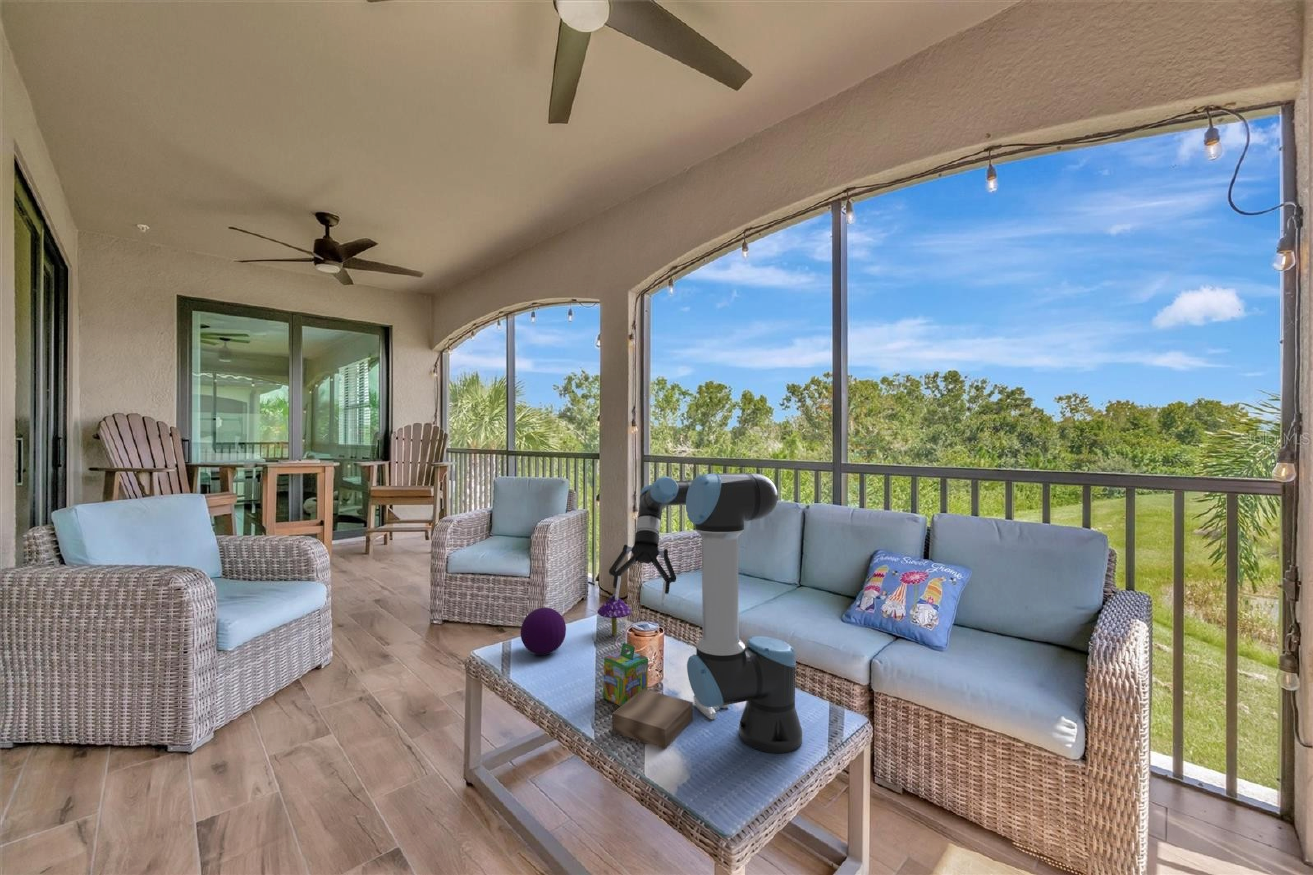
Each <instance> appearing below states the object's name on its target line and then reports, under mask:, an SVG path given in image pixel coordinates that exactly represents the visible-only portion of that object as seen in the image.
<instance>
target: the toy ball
mask: <svg viewBox="0 0 1313 875" xmlns="http://www.w3.org/2000/svg"><path fill="white" fill-rule="evenodd" d="M566 633H567V625H566V621H565V619H564V617H563V616H562V615H561V613H560V612H558V611H557V610H555V609H554V608H550V607H538V608H536V609H534V610H532V611H530V613H529V614H527V615H526V616H525V617H524V620H523V621H522V624H521V628H520V639H521V642H522V644H523V645H524V647H525V649H526V650H528V651H529V652H531V653H532V654H534V655H540V656H546V655H549V654H551V653H553V652H555V651H557V650H558V649H559V648H560V647H561V646H562V644H563V643H564V640H565V638H566Z"/></svg>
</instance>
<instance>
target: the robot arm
mask: <svg viewBox="0 0 1313 875" xmlns="http://www.w3.org/2000/svg"><path fill="white" fill-rule="evenodd" d="M778 494H779V493H778V490H777V487H776V485H775V484H774V482H773V481H772V480H771V479H770V478H769V477H767V476H766V475H763V474H761V473H756V472H755V473H754V472H736V473H735V472H732V473H730V472H729V473H727V472H724V473H723V472H721V473H719V472H717V473H716V472H713V473H704V474H699V475H697V476H695V478H693V480H675V479H674V478H672V477H669V476H660V477H659V478H658V479H657V480H655V481H654V482H653V483H652V484H649V485H645V486H643V487H642V488H641V491H640V495H639V504H638V505H639V506H638V513H637V520H636V527H635V531H636V532H635V535H634V542H633V546H632V547H631V546H628V545H627V544H624V545H623V548H622V551H621V553H620V554H619V555H618V556H617V558H616V559H615V561H614V563H613V564H612V565H611V567H610V568H609V570H608V573H609V575H610V576H612V577H613V583H612V586H613V589H615V594H614V595H615V600H618V597H620V596H619V595H620V587H621V581H622V578H621V577H622V575H623V574H624V573H625V572H626V571H627V570H628V569H629V568H631V566H633V565H634V564H636V562H638V563H640V564H642V563H643V564H644V563H645V564H648V565H650V564H652V565H653V566H654V567H655V569H656V570H657V571H658V573H659V575H660V576H661V577H662V579H663V582H662V583H663V584H662V592H661V593H662V595H661V604H660V606H665V596H666V595H669V594H670V587H671V585H670V584H671V583H675V582H676V581H677V576H676V574H675V573H676V572H675V571H674V568H673V566H672V563H671V561H670V557H669V551H668V549H667V548H665V549H661V550H660V549H659V543H660V533H661V525H662V524H661V523H662V514H663V510H665V509H666V507H667V506H669V507H670V506H685V512H686V516H687V519H688V521H689V522H690V523H692V524H694V525H695V527H694V529H695V532H697V533H698V534H699V535H700V537H701V576H702V577H701V591H702V592H701V594H702V596H701V597H702V598H701V600H702V602H701V603H702V606H701V607H702V609H701V610H702V612H701V613H702V614H701V615H702V636H701V638H700V639H699V640H698V641H697V642H696V648H695V649H696V652H695V654H692V655H690V656H689V657H688V659H687V664H686V671H687V679H688V682H689V685H690V687H691V690H692V693H693V696H694V695H695V697H696V699H697V700H698V701H699V702H700V704H702V705H703V706H705V707H717V706H719V708H720V707H723V706H724V705H729V706H730V705H733V704H739V703H743V702H746V704H745V706H744V708H743V711H742V715H741V717H740V720H739V725H738V726H739V730H738V732H739V736H740V739H741V740H742V741H743V742H744V743H745V744H746V745H748V746H749V747H751V748H752V749H755V750H757V751H761V752H764V753H770V754H784V753H789V752H792V751H795V750H797V749H798V748H799V747H800V746H801V744H802V742H803V730H802V729H803V728H802V726H801V722H800V718H799V716H798V712H797V709H796V667H797V663H796V652H795V649H794V648H793V646H791V645H790V644H789V643H787V642H785V641H784V640H780V639H777V638H774V637H770V636H763V635H759V636H757V635H755V636H750V637H749V638H747V642H746V644H745V643H744V642H743V640H741V639H740V624H739V623H740V620H739V619H740V617H739V615H740V613H739V612H740V610H739V606H740V605H739V600H740V599H739V540H738V539H739V536H740V535H742V533H744V531H745V522H749V521H751V522H752V521H756V520H757V521H758V520H761V519H763V518H765V517H767V516H769V515H770V514H771V513H772V512H773V511H774V509H775V508H776V506H777V503H778V499H779V498H778ZM630 552H631V553H632V554H633V555H632V556H631V557H630V558H628V560H627V561H626V562H625V563H624V564H623V565H622V566H620V565H621V563H622V562H623V561H624V559H625V558H626V556H627V555H629V553H630ZM659 555H660V557H661V558H663V561H664V564H665V566H666V569H667V572H668V573H667V572H666V571H665V569H664V567H663V566H662V565H661V564H660V562H659V560H658V556H659ZM619 566H620V568H619ZM668 574H669V575H668Z"/></svg>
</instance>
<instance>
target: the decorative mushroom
mask: <svg viewBox="0 0 1313 875" xmlns="http://www.w3.org/2000/svg"><path fill="white" fill-rule="evenodd" d="M631 613H632V609H631V608H630V606H628V605H627V603H626V602H624V600H622V599H621V598H620V596H618V600H615V594H612V595H611V596H610V598H608V599H607V600H606V601H604V602H603V604H602V605H601V606H600V607H599V608H598V610H597V614H598V616H600V617H603V618H609V619H611V635H612V636H613V637H614V636H616V635H617V634H618V624H617V623H618V620H617V619H620V618H625V617H627V616H629V615H631Z"/></svg>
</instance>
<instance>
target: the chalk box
mask: <svg viewBox="0 0 1313 875" xmlns="http://www.w3.org/2000/svg"><path fill="white" fill-rule="evenodd" d="M635 649H636V647H635V646H634V645H631V644H630V643H629V644H628V643H625V642H623V643H622V647H621V651H618V652H616V653H612V654H610V655H608V656H605V657H604V658H603V684H602V686H603V687H602V689H603V690H602V691H603V692H602V698H603V699H605V700H606V701H609V702H611V703H613V704H615V705H617V706H619V707H621V706H622V705H623V704H624V703H626V702H627V701H628V700H629V699H631V698H632V697H633V696H634V695H636V694H637V693H638V692H639V691H641V690H642V689H646V690H648V683H649V682H648V680H649V678H648V677H649V670H648V669H649V658H648V657H647V656H645V655H643V654H640V653H638V652H636V651H635Z"/></svg>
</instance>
